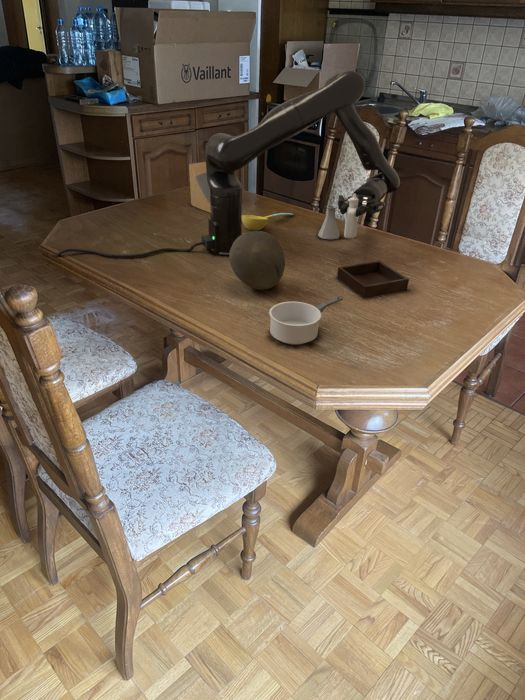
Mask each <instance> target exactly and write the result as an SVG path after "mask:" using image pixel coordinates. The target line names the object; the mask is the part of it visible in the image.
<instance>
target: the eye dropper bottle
mask: <svg viewBox="0 0 525 700" xmlns="http://www.w3.org/2000/svg"><path fill="white" fill-rule="evenodd" d="M353 193H354V192H353ZM353 193H352V194H353ZM358 200H359V199H358V198H356V194H355V193H354V194H353V197H352V198H350V201H349V207H348V208H347V211H346V213H345V220H344V221H345V222H344V231H343V236H344V238H345V239H354V238H356V236H357V231H358V223H359V217H356V209H357V208H358V207H357V206H358Z"/></svg>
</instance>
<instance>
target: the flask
mask: <svg viewBox="0 0 525 700" xmlns="http://www.w3.org/2000/svg"><path fill="white" fill-rule="evenodd" d="M337 208H338V206H337V205H333V204H328V205H326V214H325V218H324V220H323V223H322V225H321V228H320V230H319V231H318V234H317V236H318V237H319V238H320V239H325V240H338V239H340V237H341V235H340V230H339V227H338V224H337V219H336V210H337Z"/></svg>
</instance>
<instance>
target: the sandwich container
mask: <svg viewBox="0 0 525 700" xmlns="http://www.w3.org/2000/svg"><path fill="white" fill-rule="evenodd" d="M188 169H189V171H188V172H189V187H190V205H191V206H193V207H195V208H197V209H200V210H202V211H204V212H206V213H210V188H209V185H208V181H207V172H206V161H201V162H194V163H189V165H188Z"/></svg>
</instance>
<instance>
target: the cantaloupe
mask: <svg viewBox="0 0 525 700" xmlns="http://www.w3.org/2000/svg"><path fill="white" fill-rule="evenodd" d="M228 256H229V264H230V267H231V270H232V271H233V273H234V275H235V277H236V278H238V280H240V281H241V282H242V283H243V284H244V285H246V286H247V287H250V288H252V289H255V290H259V291H264V290H269V289H272V288H273V287H275V286H276V285H278V284H279V282H280V281H281V280H282V277H283V275H284V271H285V268H286V257H285V252H284V249H283V247H282V244H281V243H280V241H279V240H278V239H277V238H276V237H275V236H273V235H272V234H270V233H268V232H267V231H263V230H258V231H252V230H249V231H246V232H244V233H242V235H240V236H239V237H238V238H237V239H236V240H235V241H234V243H233V245H232V247H231V249H230V253H229V255H228Z"/></svg>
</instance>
